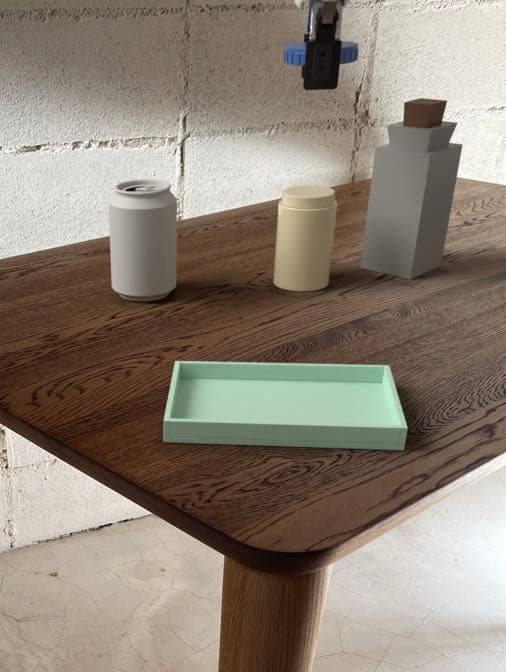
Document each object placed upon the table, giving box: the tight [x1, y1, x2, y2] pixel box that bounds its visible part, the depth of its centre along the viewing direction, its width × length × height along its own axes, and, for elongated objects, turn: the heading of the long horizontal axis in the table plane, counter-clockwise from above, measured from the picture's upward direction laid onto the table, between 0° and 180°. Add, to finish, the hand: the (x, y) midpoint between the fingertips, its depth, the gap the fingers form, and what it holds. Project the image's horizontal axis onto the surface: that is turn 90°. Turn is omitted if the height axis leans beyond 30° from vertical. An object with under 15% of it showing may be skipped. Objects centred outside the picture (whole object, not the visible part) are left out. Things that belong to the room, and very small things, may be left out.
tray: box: [163, 360, 409, 451], centre depth 74 cm, size 19×12×2 cm, turn 81°
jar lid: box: [283, 40, 359, 67], centre depth 85 cm, size 7×7×1 cm
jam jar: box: [272, 184, 338, 292], centre depth 99 cm, size 6×6×10 cm
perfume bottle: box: [359, 97, 463, 280], centre depth 100 cm, size 7×7×18 cm
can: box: [108, 178, 178, 302], centre depth 98 cm, size 8×8×12 cm
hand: (318, 81), depth 86 cm, fingers closed on jar lid, 6 cm apart
